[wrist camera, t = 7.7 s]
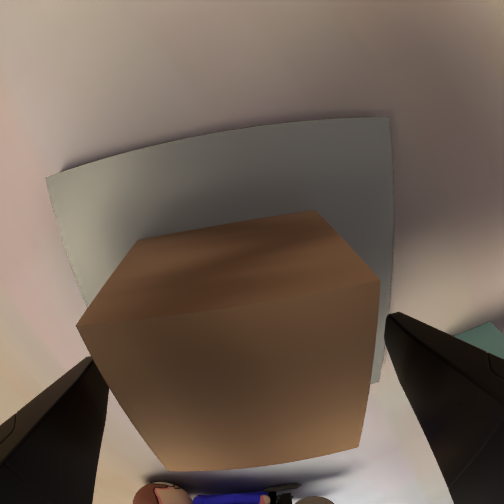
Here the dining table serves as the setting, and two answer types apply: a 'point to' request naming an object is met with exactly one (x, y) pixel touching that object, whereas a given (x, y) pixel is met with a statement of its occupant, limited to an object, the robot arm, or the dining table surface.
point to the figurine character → (219, 496)
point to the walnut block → (239, 342)
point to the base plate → (234, 194)
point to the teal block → (485, 339)
